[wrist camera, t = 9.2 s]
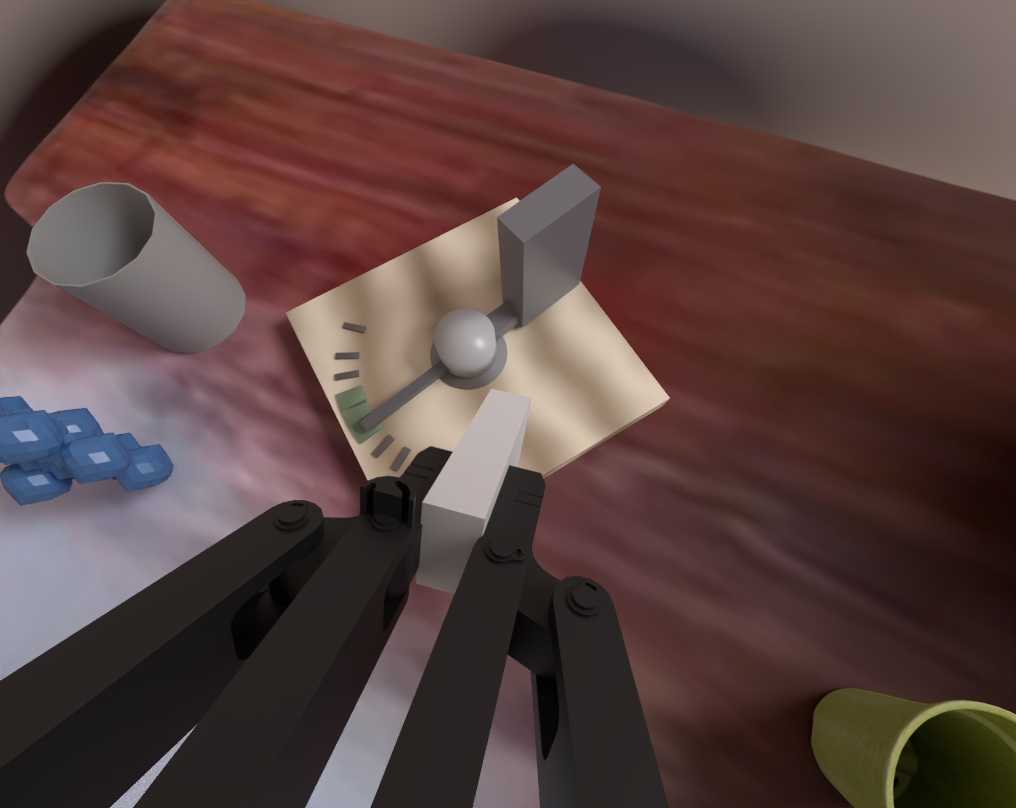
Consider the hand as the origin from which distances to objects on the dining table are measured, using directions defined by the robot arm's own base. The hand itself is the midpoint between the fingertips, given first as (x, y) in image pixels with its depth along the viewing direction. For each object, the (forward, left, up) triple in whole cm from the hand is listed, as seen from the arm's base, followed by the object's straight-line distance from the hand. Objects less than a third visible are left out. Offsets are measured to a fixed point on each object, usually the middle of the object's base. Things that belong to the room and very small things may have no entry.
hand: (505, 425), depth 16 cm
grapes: (+25, -16, -18) cm, 35 cm away
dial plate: (-2, -10, -17) cm, 21 cm away
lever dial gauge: (-3, -11, -15) cm, 19 cm away
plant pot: (-10, +25, -18) cm, 32 cm away
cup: (+16, -27, -18) cm, 36 cm away
